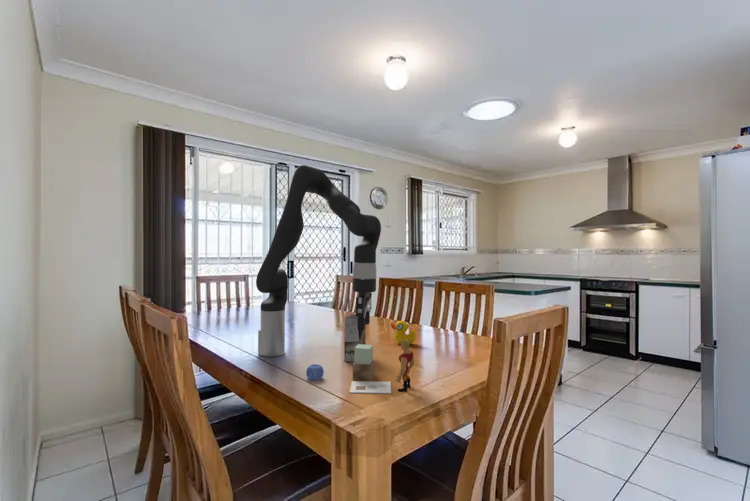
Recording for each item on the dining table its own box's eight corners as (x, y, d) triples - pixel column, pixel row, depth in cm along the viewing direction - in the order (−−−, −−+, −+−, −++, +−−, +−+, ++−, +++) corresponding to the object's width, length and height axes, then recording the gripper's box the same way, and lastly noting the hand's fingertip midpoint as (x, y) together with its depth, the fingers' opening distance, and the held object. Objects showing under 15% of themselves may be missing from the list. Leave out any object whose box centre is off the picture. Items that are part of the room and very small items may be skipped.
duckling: (388, 344, 168) (388, 321, 168) (392, 341, 173) (392, 319, 173) (414, 346, 165) (414, 323, 164) (417, 343, 170) (417, 320, 170)
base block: (352, 380, 122) (352, 364, 122) (356, 373, 128) (356, 358, 128) (371, 381, 122) (371, 365, 122) (374, 374, 128) (374, 359, 127)
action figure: (404, 382, 120) (404, 334, 120) (415, 384, 118) (415, 335, 118) (393, 393, 111) (393, 341, 111) (405, 395, 110) (405, 342, 110)
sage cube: (354, 363, 123) (354, 348, 123) (357, 359, 128) (357, 344, 128) (369, 364, 122) (369, 348, 122) (372, 360, 127) (372, 345, 127)
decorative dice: (315, 375, 126) (315, 363, 126) (323, 378, 124) (324, 365, 124) (306, 378, 123) (306, 366, 123) (314, 381, 121) (314, 368, 121)
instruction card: (349, 393, 111) (349, 391, 111) (352, 382, 120) (352, 381, 120) (391, 393, 111) (391, 392, 111) (390, 382, 120) (390, 381, 120)
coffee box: (360, 362, 141) (361, 318, 141) (343, 361, 142) (343, 317, 142) (366, 355, 150) (366, 314, 150) (350, 354, 151) (350, 313, 151)
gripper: (357, 274, 132) (356, 322, 132) (348, 278, 118) (347, 331, 118) (379, 275, 131) (378, 323, 131) (372, 278, 117) (371, 332, 117)
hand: (363, 326), depth 125 cm, fingers open, 8 cm apart
